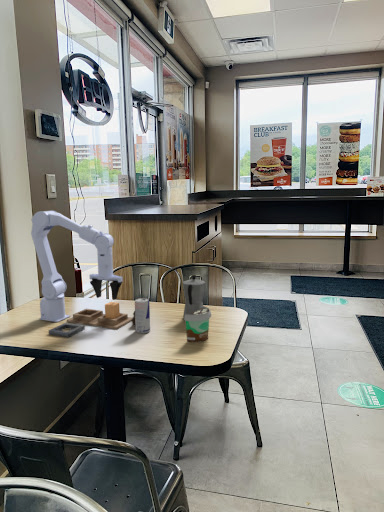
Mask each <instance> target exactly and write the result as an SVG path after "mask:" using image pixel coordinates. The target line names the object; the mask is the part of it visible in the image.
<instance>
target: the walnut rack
mask: <svg viewBox="0 0 384 512" xmlns="http://www.w3.org/2000/svg"><path fill="white" fill-rule="evenodd" d="M132 319H133V317H128V313H123V312H120V317H118V318H116V319H111V318H105V313H104V310H100V309H92V308H91V309H90V308H84V309H83V310H79V311H78V312H75V313H73V314H72V317H69V318H68V319H66V323H70V324H77V325H83V326H85V325H86V326H91V327H98V328H104V329H112V330H119V329H121V328H122V327H124V326H126V325H128V324H129V323H131V322H132Z"/></svg>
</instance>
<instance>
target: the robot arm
mask: <svg viewBox="0 0 384 512" xmlns="http://www.w3.org/2000/svg"><path fill="white" fill-rule="evenodd" d="M30 220H31V224H32V225H31V230H30V231H31V232H30V235H31V238H32V241H33V245H34V249H35V252H36V255H37V259H38V262H39V266H40V268H41V272H42V280H41V282H40V283H41V295H42V296H43V297H42V298H41V300H40V301H39V308H40V309H39V311H40V317H39V320H42V321H49V322H55V323H58V322H60V321H63V320H65V319H67V318H68V319H69V318H71V315H69V314H66V304H65V302H66V301H65V292H66V291H67V283H66V282H65V281H64V279H63V276H62V275H61V274H60V273H59V272H58V270H57V267H56V263H55V261H54V256H53V252H52V250H51V245H50V242H49V240H48V234H49V233H50V231H51V230H52V229H53V228H54V227H56V226H60V227H63V228H65V229H67V230H70V231H71V232H74V233H76V234H78V237H79V238H80V239H82V240H84V241H86V242H88V243H90V245H91V244H92V245H94V247H95V248H96V250H97V253H96V255H97V273H91V274H89V280H90V281H89V283H90V285H91V286H92V288H93V290H94V293H95V295H96V296H95V297H96V298H97V299H98V298H101V297H102V283H103V281H106V282H109V286H110V289H111V299H112V301H114V300H117V299H118V294H119V290H120V287H121V286H122V283H123V281H124V278H123V276H120V275H116V274H114V264H113V263H114V261H113V246H114V244H115V242H114V241H115V239H114V237H113V235H111V234H110V233H108V232H106V233H104V232H103V230H98V229H96V228H94V227H93V225H91V224H85V225H81V224H80V223H78V222H76V221H74V220H73V219H70V218H69V217H67V216H65V215H63V214H62V213H60V212H57V211H56V210H44V211H40V210H39V211H36V212H35V213H34V214H33V216H32V217H31V219H30Z"/></svg>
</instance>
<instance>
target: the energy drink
mask: <svg viewBox="0 0 384 512" xmlns="http://www.w3.org/2000/svg"><path fill="white" fill-rule="evenodd" d="M150 309H151V307H150V300H149V298H146V297H139V298H136V299H135V300H134V311H135V324H136V327H135V332H136V333H137V334H148V333H149V332H151V312H150V311H151V310H150Z"/></svg>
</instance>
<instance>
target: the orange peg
mask: <svg viewBox="0 0 384 512" xmlns="http://www.w3.org/2000/svg"><path fill="white" fill-rule="evenodd" d="M120 313H121V311H120V302H115V301H110V302H108V303H105V304H104V314H105V318H111V319H116V318H118V317H120Z"/></svg>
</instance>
